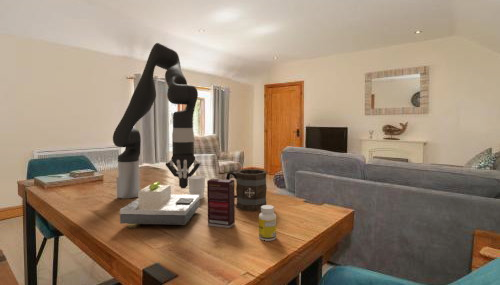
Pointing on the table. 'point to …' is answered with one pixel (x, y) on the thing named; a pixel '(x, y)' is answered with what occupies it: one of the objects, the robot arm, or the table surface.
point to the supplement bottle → (267, 223)
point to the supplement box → (221, 202)
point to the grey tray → (157, 218)
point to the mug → (250, 189)
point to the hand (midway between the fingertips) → (183, 187)
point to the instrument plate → (160, 202)
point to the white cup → (197, 185)
